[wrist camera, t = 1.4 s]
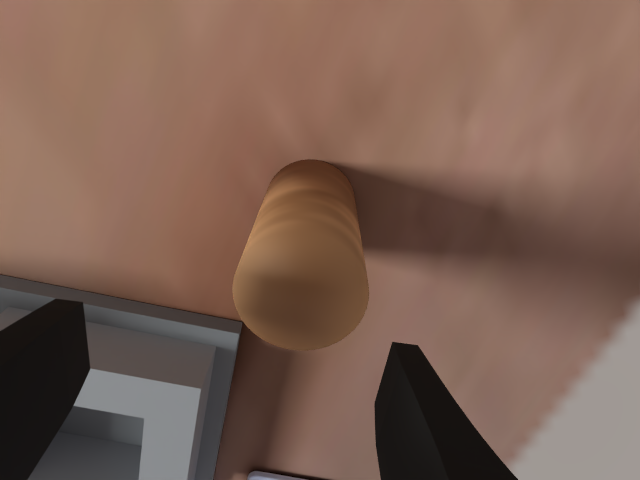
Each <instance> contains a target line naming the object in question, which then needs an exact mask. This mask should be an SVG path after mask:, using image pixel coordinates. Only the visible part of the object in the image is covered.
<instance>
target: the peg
mask: <svg viewBox="0 0 640 480" xmlns="http://www.w3.org/2000/svg"><path fill="white" fill-rule="evenodd" d="M233 299H234V304H235V307H236V310H237V312H238V314H239V316H240V318H241V319H242V321H243V322H244V323H245V325H246V326H247V327H248V328H249V329H250V330H251V331H252V332H253V333H254V334H256V335H257V336H258V337H260V338H261V339H263V340H264V341H266V342H268V343H270V344H273V345H275V346H278V347H281V348H285V349H291V350H315V349H320V348H324V347H327V346H330V345H332V344H334V343H337V342H338V341H340V340H342V339H343V338H345V337H346V336H347V335H349V334H350V333H351V332H352V331H353V330H354V329H355V328H356V327H357V325H358V324H359V323H360V321H361V319H362V318H363V316H364V314H365V311H366V309H367V305H368V299H369V287H368V279H367V273H366V267H365V260H364V254H363V248H362V241H361V235H360V228H359V222H358V216H357V209H356V203H355V196H354V192H353V189H352V186H351V184H350V182H349V180H348V179H347V178H346V176H345V175H344V174H343V173H342V172H341V171H340V170H339V169H337V168H336V167H334V166H333V165H331V164H328V163H326V162H323V161H319V160H301V161H297V162H294V163H291V164H289V165H287V166H285V167H284V168H283V169H281V170H280V171H279V172H278V173H277V174H276V175H275V177H274V178H273V179H272V181H271V183H270V185H269V187H268V190H267V192H266V195H265V198H264V200H263V203H262V205H261V208H260V211H259V213H258V216H257V218H256V221H255V223H254V226H253V229H252V231H251V234H250V236H249V239H248V242H247V244H246V247H245V249H244V252H243V254H242V257H241V260H240V262H239V265H238V267H237V270H236V273H235V276H234V280H233Z"/></svg>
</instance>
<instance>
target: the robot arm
mask: <svg viewBox="0 0 640 480" xmlns="http://www.w3.org/2000/svg"><path fill="white" fill-rule="evenodd" d="M89 371H90V360H89V351H88V342H87V333H86V324H85V314H84V305H83V302H79V301H71V300H64V299H54V300H52V301H51V302H49V303H47V304H45V305H43V306H41V307H40V308H38V309H36V310H35V311H33V312H31V313H29V314H28V315H26V316H24V317H23V318H21V319H19V320H18V321H16V322H14V323H13V324H11V325H9V326H8V327H6V328H4V329H3V330H1V331H0V480H28V478H29V476H30V475H31V473H32V472H33V470H34V469H35V467H36V465H37V464H38V462H39V461H40V459H41V458H42V456H43V454H44V453H45V451H46V450H47V448H48V447H49V445H50V443H51V442H52V440H53V439H54V437H55V435H56V434H57V432H58V431H59V429H60V427H61V426H62V424H63V423H64V421H65V419H66V418H67V416H68V414H69V413H70V411H71V410H72V407H73V405H74V403H75V401H76V399H77V397H78V395H79V393H80V391H81V389H82V387H83V384H84V382H85V380H86V378H87V375H88V373H89ZM375 434H376V448H377V456H378V462H379V469H380V476H381V480H518V479H517V478H516V477H515V476H514V475H513V473H512V472H511V471H510V470H509V469H508V468H507V467H506V465H505V464H504V463H503V462H502V461H501V460H500V458H499V457H498V456H497V455H496V454H495V452H494V451H493V450H492V449H491V447H490V446H489V445H488V444H487V443H486V441H485V440H484V439H483V438H482V436H481V435H480V434H479V432H478V431H477V430H476V428H475V427H474V426H473V425H472V423H471V422H470V420H469V419H468V418H467V416H466V415H465V414H464V412H463V411H462V409H461V408H460V407H459V405H458V404H457V403H456V401H455V400H454V398H453V397H452V395H451V394H450V393H449V391H448V390H447V388H446V387H445V385H444V384H443V382H442V381H441V379H440V378H439V376H438V375H437V373H436V372H435V370H434V369H433V367H432V366H431V364H430V363H429V361H428V360H427V358H426V357H425V355H424V354H423V352H422V351H421V349H420V348H419V347H418V345H412V344H404V343H396V342H392V345H391V348H390V352H389V355H388V359H387V362H386V366H385V369H384V373H383V376H382V379H381V383H380V386H379V390H378V393H377V397H376V400H375ZM247 480H307V479H301V478H295V477H289V476H284V475H278V474H272V473H266V472H260V471H253V472H251V473H249V475H248V479H247Z"/></svg>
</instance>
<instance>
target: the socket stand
mask: <svg viewBox="0 0 640 480" xmlns="http://www.w3.org/2000/svg"><path fill="white" fill-rule="evenodd" d="M54 299H64V300H71V301H79V302H83V305H84V314H85V324H86V333H87V342H88V351H89V360H90V371H89V373H88V375H87V378H86V380H85V382H84V384H83V387H82V389H81V391H80V393H79V395H78V397H77V399H76V401H75V403H74V405H73V407H72V410H71V411H70V413H69V414H68V416H67V418H66V419H65V421H64V423H63V424H62V426H61V427H60V429H59V431H58V432H57V434H56V435H55V437H54V439H53V440H52V442H51V443H50V445H49V447H48V448H47V450H46V451H45V453H44V454H43V456H42V458H41V459H40V461H39V462H38V464H37V465H36V467H35V469H34V470H33V472H32V473H31V475H30V476H29V478H28V480H213V478H214V473H215V468H216V462H217V457H218V452H219V446H220V441H221V436H222V430H223V425H224V419H225V414H226V409H227V403H228V398H229V393H230V387H231V382H232V377H233V371H234V366H235V361H236V355H237V350H238V345H239V339H240V334H241V328H242V323H243V322H239V321H234V320H228V319H223V318H218V317H213V316H208V315H203V314H198V313H193V312H188V311H183V310H178V309H172V308H167V307H162V306H157V305H152V304H147V303H142V302H137V301H132V300H127V299H122V298H116V297H111V296H106V295H101V294H96V293H91V292H86V291H81V290H76V289H71V288H65V287H60V286H55V285H50V284H45V283H40V282H35V281H30V280H25V279H20V278H15V277H9V276H4V275H0V331H1V330H3V329H4V328H6V327H8V326H9V325H11V324H13V323H14V322H16V321H18V320H19V319H21V318H23V317H24V316H26V315H28V314H29V313H31V312H33V311H35V310H36V309H38V308H40V307H41V306H43V305H45V304H47V303H49V302H51V301H52V300H54Z"/></svg>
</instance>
